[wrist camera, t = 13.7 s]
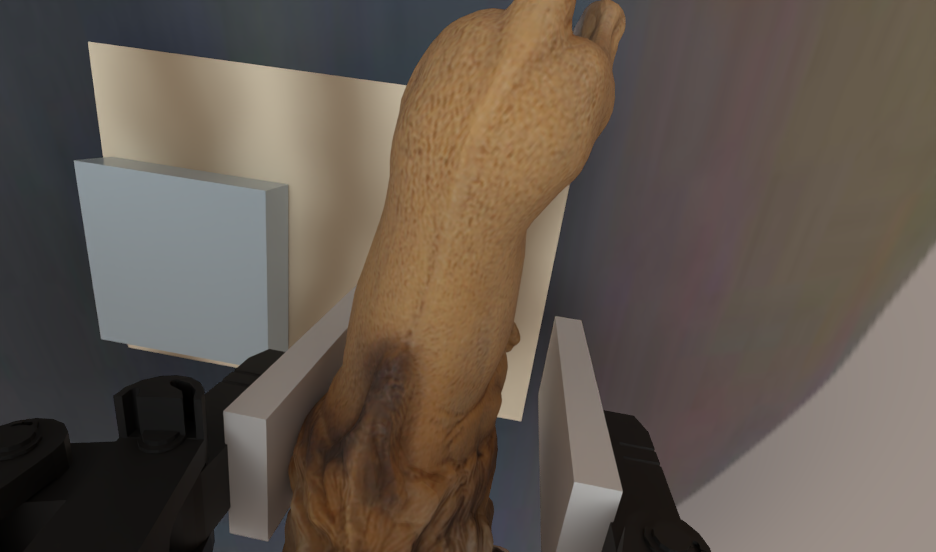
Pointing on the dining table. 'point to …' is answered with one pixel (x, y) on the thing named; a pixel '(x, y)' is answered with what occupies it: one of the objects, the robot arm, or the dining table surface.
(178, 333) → the block
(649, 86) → the dining table surface
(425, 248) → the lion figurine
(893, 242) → the dining table surface
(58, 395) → the dining table surface
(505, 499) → the dining table surface
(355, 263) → the board
